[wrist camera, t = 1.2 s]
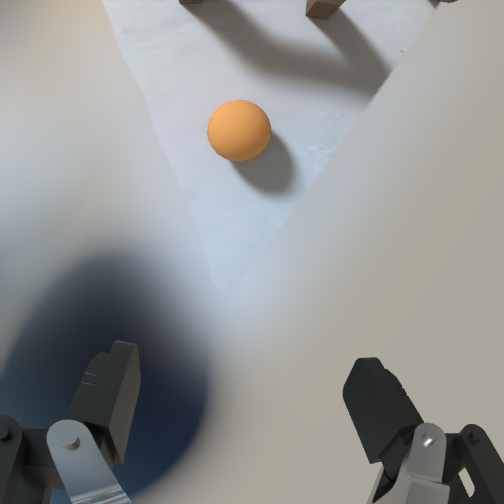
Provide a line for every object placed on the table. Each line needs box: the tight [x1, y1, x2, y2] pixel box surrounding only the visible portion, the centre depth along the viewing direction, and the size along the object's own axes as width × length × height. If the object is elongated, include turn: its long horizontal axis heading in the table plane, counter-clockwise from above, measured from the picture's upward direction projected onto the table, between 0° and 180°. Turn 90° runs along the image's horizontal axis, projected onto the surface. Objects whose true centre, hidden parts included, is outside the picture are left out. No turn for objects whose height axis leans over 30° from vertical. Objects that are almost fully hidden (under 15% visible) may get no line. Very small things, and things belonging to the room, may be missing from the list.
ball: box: [207, 100, 271, 161], centre depth 22 cm, size 5×5×5 cm
